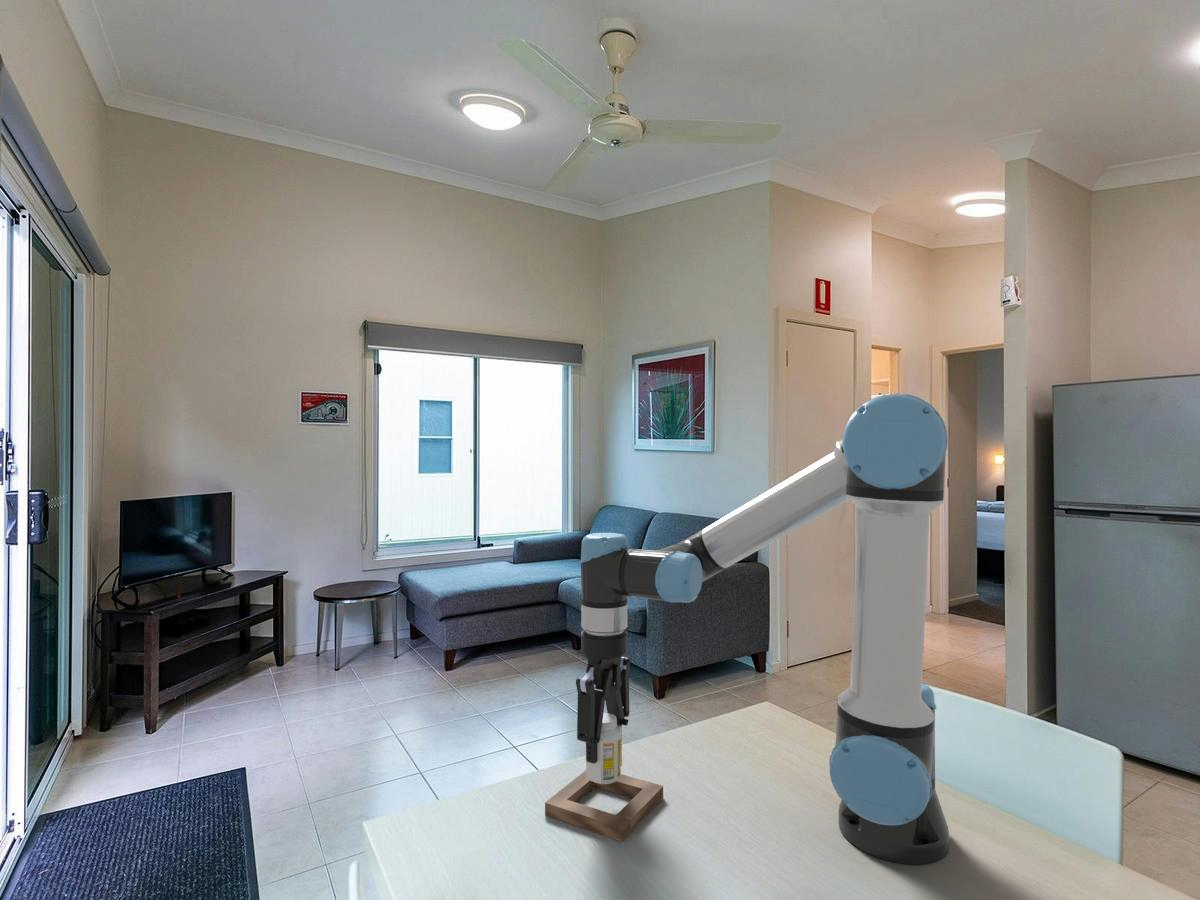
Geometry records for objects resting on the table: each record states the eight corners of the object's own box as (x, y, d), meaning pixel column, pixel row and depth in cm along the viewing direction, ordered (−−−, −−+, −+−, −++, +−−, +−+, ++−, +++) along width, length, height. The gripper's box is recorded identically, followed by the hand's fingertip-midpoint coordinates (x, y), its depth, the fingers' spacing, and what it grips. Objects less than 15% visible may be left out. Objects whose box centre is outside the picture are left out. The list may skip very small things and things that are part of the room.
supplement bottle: (603, 788, 103) (603, 727, 103) (581, 776, 107) (580, 717, 107) (627, 777, 107) (627, 718, 107) (605, 765, 111) (605, 708, 111)
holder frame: (663, 797, 110) (663, 785, 110) (622, 841, 98) (622, 828, 98) (591, 776, 117) (591, 765, 117) (545, 815, 105) (545, 802, 105)
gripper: (612, 613, 117) (612, 744, 117) (552, 640, 101) (553, 791, 101) (650, 619, 113) (650, 754, 113) (594, 648, 97) (594, 805, 97)
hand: (604, 771), depth 107 cm, fingers closed on supplement bottle, 5 cm apart
